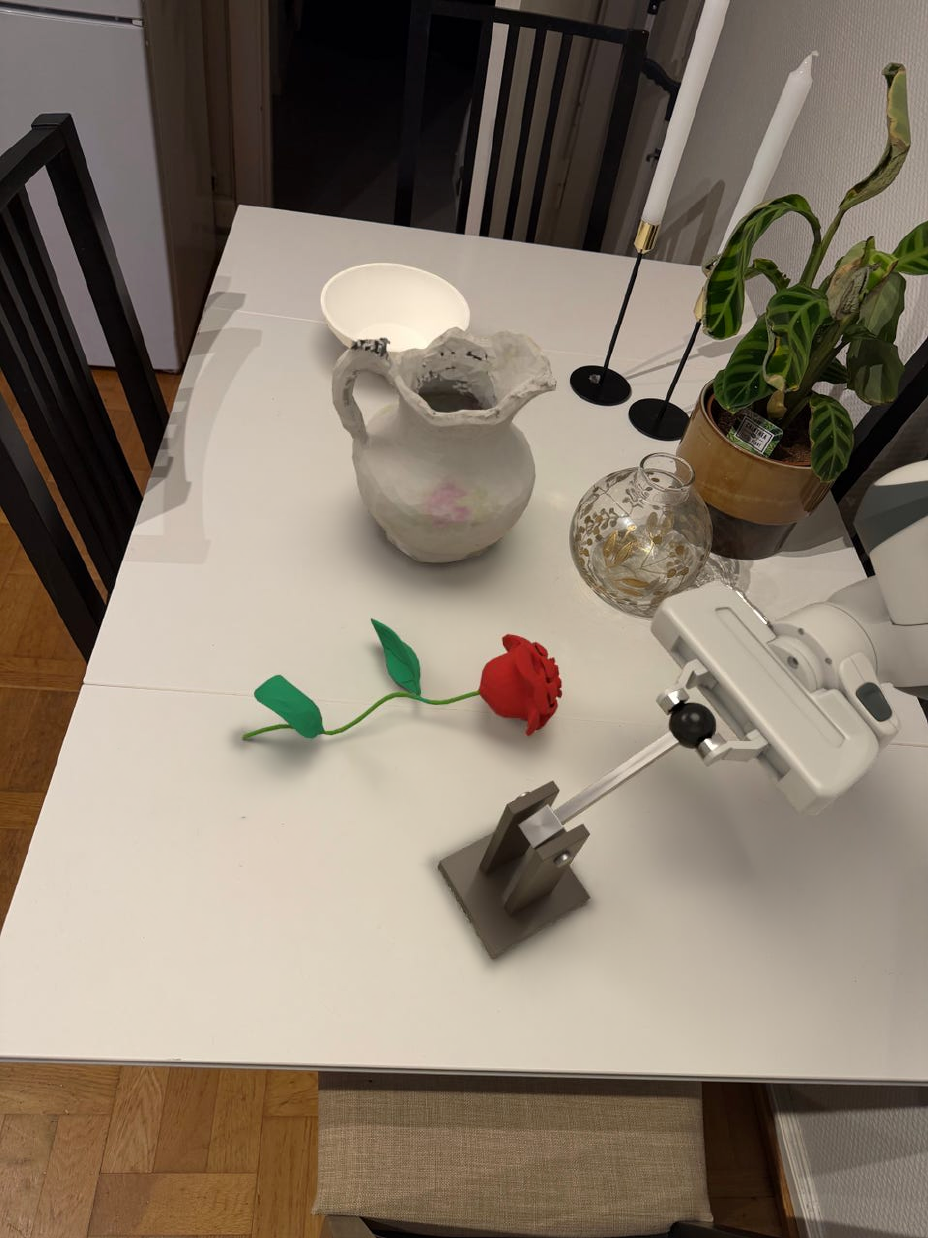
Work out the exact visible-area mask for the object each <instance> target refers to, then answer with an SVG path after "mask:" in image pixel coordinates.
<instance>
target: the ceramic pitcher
mask: <svg viewBox="0 0 928 1238" xmlns="http://www.w3.org/2000/svg"><path fill="white" fill-rule="evenodd" d="M358 340H359V341H358ZM358 340H357V341H356V342H354V341H352V344H351V347H350V348H348V349H346V350H345V351H344V352H343V353H342V354H341V355H340V356H339V357H338V358H337V360H336V362H335V364H334V367H333V370H332V372H331V373H332V375H331V398H332V404H333V407H334V409H335V411H336V413H337V415H338V417H339V420H340V422H341V425H342V427H343V429H345V430H346V431H347V432H348V433H349V434H350V438H351V439H352V446H351V447H352V453H351V460H352V464H353V467H354V472H355V476H356V483H357V487H358V492H359V495H360V498H361V500H362V502H363V505H364V506H365V508H366V510H367V511H368V513H369V514H370V515H371V516H372V517H373V519H374V520H375V521H376V522H377V524H378V525H379V526H380V527H381V528H382V529H383V530H384V532H385V538H386V539H387V541H389V543H391V544H392V545H393V546H395V547H396V548H397V549H398V550H399V551H401V552H402V553H404V554H405V555H406V556H407V557H409V558H410V559H411V560H413V561H414V562H421V563H422V562H423V563H449V562H456V561H462V560H468V559H471V558H477V557H479V556H480V555H481V554H483V553H484V552H485V551H486V550H488V549H490V548H491V546H492V544H494V543H495V542H497V541H498V540H500V538H502V537H504V536H505V535H506V534H507V533H509V532H510V531H511V530H512V529H513V528H514V527H515V525H516V524H517V523H518V521H519V520H520V518H521V517H522V515H523V514H524V512H525V511H526V508H527V507H528V505H529V502H530V500H531V497H532V494H533V491H534V487H535V484H536V483H535V482H536V476H537V475H536V463H535V460H534V456H533V453H532V448H531V445H530V444H529V442H528V440H527V438H526V436H525V434H524V432H522V430H521V429H520V428H519V427H518V426H517V425H516V424H515V423H514V422H513V420H514V418H515V417H516V415H517V414H518V413H519V412H520V411H521V410H522V409H523V408H524V407H525V406H526V405H527V404H528V403H529V402H531V401H532V400H533V399H536V397H538V396H540V395H542V394H545V393H548V392H553V391H557V390H556V389H557V380H556V379H555V378H554V376H553V375H552V373H553V372H552V371H551V364H550V363H551V362H550V360H549V358H548V356H547V354H546V353H545V352H544V351H543V349H542V348H541V347H540V346H539V345H538V344H537V342H536V341H535V340H534V339H533V338H532V337H531V335H530V334H528V333H524V332H521V331H517V330H508V329H507V330H502V331H501V330H500V331H499V332H497V333H495V334H494V335H492V336H489V337H486V338H481V337H479V336H476V335H473V334H470V333H468V332H467V331H466V332H465V331H463V330H462V329H460V328H458V327H453V328H450V329H448V330H446V331H445V332H444V333H443V334H441V335H440V336H438V337H437V338H435V339H434V340H433V341H432V342H431V343H430V344H429V345H428V347H427V348H425V349H417V348H414V349H409V350H406V351H403V352H400V353H398V354H397V355H396V356H395V357H394V358H393V359H391V357H390V355H389V354H388V352H387V350H386V349H387V344H389V345H390V341H389V340H388V339H387V338H381V337H380V339H365V340H361V339H358ZM364 372H369V373H372V374H373V373H374V374H377V375H381V376H384V378H385V379H386V380H387V381H388V382H389V384H390V385H391V386H392V388H393V389H394V390H395V391H396V392H397V394H398V400H396V401H394V402H392V403H390V404H387V405H385V406H384V407H382V408H381V409H380V410H378V411H377V412H376V413H375V414H374V415H373V416H372V417H371V418H370V419H369V420H368V421H367V423H365V420H364V416H363V413H362V411H361V409H360V407H359V405H358V403H357V402H356V399H355V397H354V395H353V394H354V387H355V383H356V378H357V376H359V374H362V373H364Z"/></svg>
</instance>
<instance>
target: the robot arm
mask: <svg viewBox="0 0 928 1238" xmlns="http://www.w3.org/2000/svg"><path fill="white" fill-rule="evenodd" d="M852 525H853V526H854V528H855V530H856V533H857V536H858V537H859V538H858V539H859V540H860V542H861V544H862V547H863V549H864V551H865V554H866V556H867V557H869V559H870V562H871V566H872V567H873V571H874V573H875V575H872V576H869V577H866V578H863V579H861V580H858V581H856V582H854V583H851V584H849V585H847V586H845V587H843V588H840V589H838V590H836V591H835V592H834V593H832V594H831V595H830V596H829V597H828V598H827V599H826V600H825V601H818V602H817V601H816V602H813V603H810V604H807V605H805V606H803V607H801V608H799V609H797V610H794V611H792V612H790V613H789V614H787V615H784V616H782V617H780V618H778V619H775V620H773V621H772V622H771V621H770V620H769V619H768V618H767V617H766V615H765V614H763V612H762V611H761V610H760V609H759V608H758V607H757V606H755V605H754V603H752V602H751V600H749V599H748V596H747V594H746V593H745V592H744V591H743V590H741V589H740V588H739V587H737V586H735V587H732V586H731V585H730V584H728V583H726V582H723V581H721V580H718V579H717V580H712V581H709V582H707V583H705V584H702V585H701V586H699V587H696V588H692V589H689V590H685V591H681V592H679V593H675V594H673V595H670V596H667V597H666V598H664V599H663V600H662V602H661V603H660V604H659V605H658V607H657V608H656V609H655V612H654V614H653V617H652V620H651V624H650V629H649V630H650V632H651V634H652V635H653V636H654V638H655V639H656V640H657V642H658V643H659V644H660V645H661V646H662V648H663V649H664V650H665V651H666V652H667V654H668V655H669V656H670V657H671V658H672V660H673V661H674V662H675V663H676V665H677V666H678V667H679V668H680V670H681V671H680V673H679V674H678V675H677V677H676V680H675V681H674V684H673V685H670V686H669V687H667V688H665V689H663V690H662V691H661V692H660V693H659V694H658V695H657V697H656V699H655V702H656V704H657V705H658V706H659V707H660V708H661V710H662V712H663V713H665V715H666V716H671V714H672V712H673V711H674V710H675V709H676V708H677V707H678V706H680V705H682V704H684V703H688V700H689V699H690V697H691V696H690V695H689V693H687V691H686V690H692V689H694V688H696V689H697V690H698V691H699V693H700V694H701V695H702V697H704V699H705V700H706V701H707V703H708V704H709V705H710V706H711V707H712V709H713V710H714V711H715V712H716V714H718V716H719V717H720V719H722V721H723V722H724V724H726V726H727V727H728V728H729V730H731V732H732V733H733V734H734V735H735V737H736V738H737V739H738V740H726V739H725V738H724V737H723V736H722V735H721V734H720V732H716V733H715V735H713V736H712V737H711V738H707V739H706V740H704V741H703V742H701V743H700V744H699V746H698V748H696V749H694V752H695V754H696V755H697V756H698V758H699V759H700V760H701V762H703V764H704V765H705V766H706V767H709V766H711V765H714V764H715V763H717V762H719V761H720V760H723V761H729V762H730V761H731V762H741V763H742V762H743V763H747V762H749V761H751V760H753V759H754V760H755V762H756V763H758V765H759V766H760V767H761V769H762V770H763V771H764V772H765V773H766V775H767V776H768V777H769V778H770V780H771V781H772V782H773V784H774V785H775V786H776V787H777V788H778V789H779V791H780V792H781V793H782V794H783V795H784V797H785V798H786V799H787V801H788V802H789V803H790V804H791V805H792V807H793V808H794V809H795V810H796V811H797V813H800V814H805V815H811V816H816V815H818V814H819V813H821V812H822V811H823V810H825V809H827V808H828V807H829V806H830V805H831V804H833V803H834V802H836V800H838V799H839V798H840V797H841V796H843V794H845V793H846V792H847V791H848V790H850V788H851V787H852V786H853V785H854V784H855V783H856V782H858V781H859V780H860V779H861V778H862V777H863V776H864V775H865V774H867V772H868V771H870V769H871V767H872V766H873V765H874V764H875V762H876V761H877V759H878V757H879V754H880V753H881V752H882V751H883V750H884V749H885V748H886V747H887V746H888V745H889V744H890V743H891V742H892V741H893V739H895V737H896V736H897V735H898V733H900V730H901V728H902V724H901V721H900V718H899V717H898V715H897V712H896V711H895V709H894V708H893V706H892V704H891V703H890V701H889V699H888V697H887V696H886V695H887V694H886V693H885V691H884V689H883V687H882V686H881V685H884V684H891V685H892V688H894V689H895V690H896V691H899V692H901V693H904V694H907V695H910V696H912V697H916V698H919V699H921V700H925V701H928V459H925V460H920V461H915V462H912V463H908V464H906V465H904V466H903V465H902V466H901V467H898V468H896V469H894V470H891V471H890V472H887V473H886V474H884V475H883V476H881V477H879V478H877V479H876V480H874V481H872V483H870V485H869V486H868V488H867V490H866V492H865V494H864V496H863V497H862V499H861V501H860V504H859V506H858V508H857V511H856V514H855V517H854V518H853V522H852ZM685 688H686V690H685Z"/></svg>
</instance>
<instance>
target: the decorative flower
mask: <svg viewBox="0 0 928 1238" xmlns="http://www.w3.org/2000/svg"><path fill="white" fill-rule="evenodd" d="M370 622H371V624H372V626H373V628H374V630H375V633H376V634H377V637H378V639H379V641H380V643H381V647H382V649H383V652H384V656H385V663H386V668H387V671H388V674H389V675H390V677H391V679H393V681H395V682H396V683H397V684H398V685H400V686H402V687H403V688H405V689H406V690H407V691H408V692H404V691H397V692H392V693H389V694H387V695H385V696H384V697H382V698H380V699H379V700H377V701H376V702H375V703H374V704H373V705H371V706H370V707H369V708H368V709H366V711H364V712H363V713H362V714H361V715H359V716H357V718H355V719H353V720H352V721H351V722H349V723H347V724H345V725H343V726H342V727H340V728H336V729H333V730H325V728H324V725H323V716H322V713H321V710H320V707H318V705H317V704H316V703H315V702H314V701H313V700H312V699H311V698H310V697H308V696H307V694H305V693H304V692H302V691H301V690H300V689H299V688H297V687H296V686H295V685H293V684H292V683H291V682H290V681H289V680H287V678H286V677H284V676H283V675H281V674H275V675H274V676H272V677H269V678H268V679H266V680H265V681H264V682H263V683H262V684H260V685H259V686H258V687H257V688H256V689H254V692H253V697H254V698H255V699H256V701H257V702H258V703H260V704H261V705H263V706H265V707H266V708H267V709H269V710H270V711H272V712H274V713H275V714H276V715H278V716H279V717H280V718H282V719H283V720H284V721H285V722H286V723H278V724H273V725H270V726H264V727H262V728H259V729H255V730H253V731H250V732H248V733H245V734H243V735H242V740H245V739H249V738H251V737H254V736H257V735H260V734H264V733H267V732H272V731H276V730H277V731H278V730H286V729H287V730H294V731H295V732H296V733H298V735H300V736H301V737H302V738H305V739H311V740H312V739H316V738H317V737H318V736H319V735H320V736H321V735H325V736H335V735H338V734H342V733H344V732H345V731H347V730H349V729H351V728H352V727H354V726H355V725H358V723H361V722H362V721H363V720H364V719H365V718H366V717H367V716H369V715H371V713H372V712H374V711H375V710H377V708H378V707H380V706H381V705H383V704H384V703H386V702H387V701H389V700H392V699H395V698H409V699H412V700H416V701H418V702H422V703H424V704H428V705H432V706H442V705H450V704H452V703H456V702H460V701H462V700H466V699H469V698H473V697H477V696H479V697H481V699H482V700H483V701H484V702H485V704H487V706H488V707H489V708H490V709H491V710H492V711H493V713H494V714H495V715H497V716H499V717H502V718H503V719H515V720H516V719H518V720H521V721H525V722H526V724H527V727H526V729H525V736H526V737H527V738H528V737H530V736H532V735H533V734H534V733H535V732H537V731H540V730H541V729H542V728H544V727H545V726H546V725H547V723H548V722H549V720H550V719H551V718H552V717H553V716H554V715H555V713H556V712H557V710H558V708H559V703H558V699H557V698H559V699H561V698H562V697H563V690H562V689H561V688H562V686H563V682H562V679H561V678H560V676H559V675H560V671H559V670H560V669H559V668H560V667H559V665H558V664H556V658H555V656H553V657H549V653H548V650H547V648H545V647H544V646H543V645H542V643H541V644H540V643H539V642H537V641H533V642H531V641H530V640H529V639H527V638H525V637H523V636H519V635H517V634H511V633H507V634H505V635H503V636H502V637H501V641H502V646H503V648H504V649H505V651H506V652H505V653H502V654H500V655H498V656H496V657H493V658H491V659H490V660H489V661H488V662H486V663H485V665H484V667H483V669H482V670H481V677H480V682H479V687H478V689H477V690H475V691H471V692H467V693H465V694H462V695H458V696H455V697H452V698H448V699H441V700H440V699H439V700H438V699H436V700H435V699H428V698H424V697H423V696H422V695H421V693H422V689H421V666H420V659H419V658H418V655H417V654H416V652H415V651H414V650H413V648H412V647H410V645H408V644H407V643H406V642H405V641H403V640H402V639H401V637H400V636H399V635H398V634H397V633H396V631H394V630H393V629H392V628H391V627H389V626H388V625H386V624H385V623H383V622H380V621H379V620H377V619H375V618H372V617H370ZM548 657H549V658H548Z"/></svg>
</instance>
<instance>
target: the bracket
mask: <svg viewBox="0 0 928 1238" xmlns="http://www.w3.org/2000/svg"><path fill="white" fill-rule="evenodd" d="M560 792H561V790H560V788H559V786H557V783H556V782H555V781H554V780H551V781H548V782H546V783H545V784H543V785H541V786H539V787H537V788H535V789H533V790H532V791H525V792H523V793H521V794H519V795H518V796H517V797H516V798H515V799H514V800H512V801H511V802H508V803H506V805H505V807H504V810H503V812H502V814H501V816H500V818H499V821H498V823H497V825H496V828H495V830H494V831H493V832H492V833H490V834H488V835H486V836H484V837H482V838H480V839H478V840H477V841H475V842H472V843H471V844H469V845H467V846H465V847H463V848H461V849H459V850H458V851H456V852H454V853H451V854H450V855H448V856H447V857H444V858H442V859H441V860H439V862H438V865H437V867H438V869H439V870H440V872H441V874H442V875H443V877H444V879H445V881H446V882H447V884H448V886H449V887H450V889H451V891H452V893H453V894H454V896H455V898H456V899H457V901H458V903H459V905H460V906H461V908H462V910H463V911H464V913H465V915H466V916H467V919H468V920H469V923H471V925H472V927H473V929H474V930H475V932H476V934H477V936H478V937H479V939H480V940H481V942H482V944H483V946H484V947H485V949H486V951H487V953H488V955H489V956H490V958H491V959H492V960H493V959H495V958H496V957H498V956H499V955H501V954H503V953H505V952H506V951H508V950H510V949H511V948H513V947H515V946H516V945H518V944H520V943H521V942H523V941H525V940H526V939H528V938H529V937H531V936H533V935H534V934H536V933H538V932H540V931H541V930H543V929H545V928H546V927H548V926H550V925H551V924H553V923H555V922H556V921H558V920H560V919H561V918H562V917H563V918H564V916H566V915H568V914H570V913H571V912H573V911H575V910H576V909H578V908H579V907H581V906H583V905H585V904H586V903H588V902H589V900H590V898H591V896H590V894H589V893H588V891H587V890H586V888H585V887H584V885H583V884H582V882H581V881H580V880H579V878H578V877H577V875H576V874H575V872H574V871H573V869H572V867H571V866H570V865H571V864H572V862H573V861H574V859H575V858H576V856H577V855H578V854H579V852H580V850H582V847H583V846H584V844H585V843H586V841H587V840H588V839H589V837H590V836H591V833H590V831H589V830H588V829H587V827H586V825H585V824H584V823H581V824H578V825H577V826H575V827H573V828H571V829H570V830H568V831H567V832H566V833H564V834H563V835H561V836H559V837H557V838H555V839H554V840H552V841H550V842H548V843H546V844H545V845H543V846H541V847H539V848H537V849H536V850H534V849H533V847H532V846H531V844H530V843H529V841H528V840H527V838H526V837H525V835H524V833H523V832H522V830H521V829H520V827H519V826H518V824H519V823H521V822H522V821H524V820H525V819H527V818H528V817H529V816H531V815H532V814H534V813H535V812H537V811H538V810H540V809H541V808H543V807H544V806H545V805H547V804H549V806H550V807H551V808H552V806H553V804H554V802H555V801H556V799H557V797H558V795H559V793H560Z"/></svg>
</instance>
